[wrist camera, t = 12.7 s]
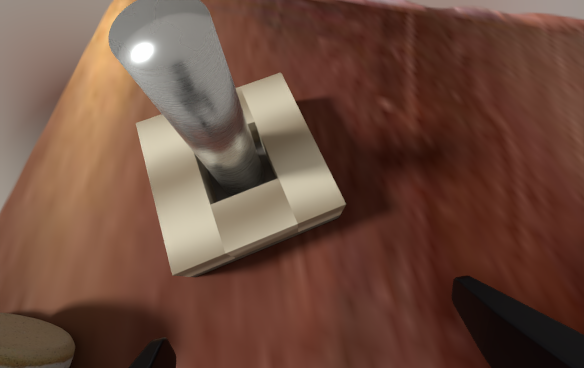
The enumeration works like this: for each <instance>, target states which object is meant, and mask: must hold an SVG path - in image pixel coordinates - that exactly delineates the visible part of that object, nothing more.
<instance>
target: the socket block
mask: <svg viewBox="0 0 584 368" xmlns="http://www.w3.org/2000/svg"><path fill="white" fill-rule="evenodd" d="M235 89H236V92H237V94H238V97H239V100H240V103H241V106H242V109H243V112H244V115H245V118H246V121H247V124H248V127H249V130H250V132H251V135H252V138H253V141H254V144H255V147H256V150H257V153H258V156H259V159H260V162H261V165H262V167H263V170H264V181H263V183H262V185H260V186H257V187H254V188H252V189H249V190H247V191H244V192H242V193H239V194H237V195H234V196H232V195H230V194H228V193H227V192H226V191H225V190H224V189H223V188H222V186H221V185H220V184H219V183H218V182H217V180H216V179H215V178H214V177H213V175H212V174H211V173H210V172H209V170H208V169H207V168H206V167H205V166H204V164H203V163H202V162H201V161H200V159H199V158H198V157H197V156H196V155H195V153H194V152H193V151H192V150H191V148H190V147H189V146H188V145H187V144H186V142H185V141H184V140H183V139H182V137H181V136H180V135H179V134H178V133H177V131H176V130H175V129H174V128H173V126H172V125H171V124H170V123H169V122H168V120H167V119H166V118H165V117H164V115H163V114H161V115H158V116H155V117H153V118H150V119H147V120H144V121H141V122H138V123H136V126H137V130H138V134H139V139H140V143H141V147H142V151H143V155H144V159H145V164H146V168H147V172H148V176H149V180H150V184H151V188H152V193H153V197H154V201H155V205H156V209H157V213H158V218H159V222H160V226H161V230H162V234H163V238H164V242H165V247H166V251H167V255H168V259H169V263H170V267H171V272H172V275H175V276H187V277H197V276H200V275H202V274H204V273H207V272H209V271H212V270H214V269H216V268H219V267H221V266H224V265H226V264H229V263H231V262H233V261H236V260H238V259H241V258H243V257H245V256H248V255H250V254H253V253H255V252H257V251H260V250H262V249H265V248H267V247H270V246H272V245H274V244H277V243H279V242H282V241H284V240H286V239H289V238H291V237H294V236H296V235H299V234H301V233H303V232H306V231H308V230H311V229H313V228H315V227H318V226H320V225H323V224H325V223H327V222H330V221H332V220H335V219H337V218H339V216H340V215H341V213H342V211H343V209H344V207H345V205H346V203H345V201H344V199H343V197H342V195H341V193H340V191H339V189H338V187H337V185H336V183H335V181H334V179H333V177H332V175H331V173H330V171H329V169H328V167H327V165H326V163H325V161H324V159H323V157H322V154H321V152H320V150H319V148H318V146H317V144H316V142H315V140H314V138H313V136H312V134H311V132H310V130H309V128H308V126H307V124H306V122H305V120H304V118H303V116H302V114H301V112H300V110H299V108H298V106H297V104H296V102H295V100H294V98H293V96H292V94H291V92H290V90H289V88H288V86H287V84H286V82H285V80H284V78H283V76H282V74H281V73H278V74H275V75H272V76H270V77H267V78H264V79H261V80H258V81H255V82H252V83H250V84H247V85H244V86H241V87H238V88H235Z"/></svg>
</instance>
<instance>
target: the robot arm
mask: <svg viewBox="0 0 584 368" xmlns="http://www.w3.org/2000/svg"><path fill="white" fill-rule="evenodd" d="M452 301H453V304H454V306H455V307H456V309H457V311H458V313H459V315H460V316H461V318H462V320H463V322H464V323H465V325H466V327H467V329H468V330H469V332H470V334H471V336H472V337H473V339H474V341H475V343H476V344H477V346H478V348H479V350H480V351H481V353H482V354H483V356H484V357H485V359H486V360H487V362H488V363H489V365H490V366H491V368H584V335H583V334H581V333H579V332H577V331H575V330H573V329H571V328H570V327H568V326H566V325H564V324H562V323H560V322H558V321H556V320H554V319H552V318H550V317H548V316H546V315H544V314H542V313H540V312H538V311H536V310H535V309H533V308H531V307H529V306H527V305H525V304H523V303H521V302H519V301H517V300H515V299H513V298H511V297H509V296H507V295H505V294H503V293H502V292H500V291H498V290H496V289H494V288H492V287H490V286H488V285H486V284H484V283H482V282H480V281H478V280H476V279H474V278H472V277H470V276H461V277H456V278H455V279H454V281H453V288H452ZM129 368H176V354H175V352H174V350H173V348H172V346H171V344H170V342H169V341H168V339H167V338H159V339H154V340H152V341H151V342H150V343H149V344H148V345H147V346H146V347H145V348H144V350H143V351H142V352H141V353H140V354H139V356H138V357H137V358H136V359H135V360H134V362H133V363H132V364H131V365H130V366H129Z"/></svg>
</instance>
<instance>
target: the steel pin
mask: <svg viewBox="0 0 584 368" xmlns="http://www.w3.org/2000/svg"><path fill="white" fill-rule="evenodd" d="M109 46H110V48H111V51H112V52H113V54H114V55H115V57H116V58H117V59H118V60H119V62H120V63H121V64H122V65H123V66H124V68H125V69H126V70H127V71H128V73H129V74H130V75H131V76H132V77H133V79H134V80H135V81H136V82H137V84H138V85H139V86H140V87H141V88H142V90H143V91H144V92H145V93H146V95H147V96H148V97H149V98H150V100H151V101H152V102H153V103H154V104H155V106H156V107H157V108H158V109H159V111H160V112H161V113H162V114H163V115H164V117H165V118H166V119H167V120H168V122H169V123H170V124H171V125H172V126H173V128H174V129H175V130H176V131H177V133H178V134H179V135H180V136H181V137H182V139H183V140H184V141H185V142H186V144H187V145H188V146H189V147H190V148H191V150H192V151H193V152H194V153H195V155H196V156H197V157H198V158H199V159H200V161H201V162H202V163H203V164H204V166H205V167H206V168H207V169H208V170H209V172H210V173H211V174H212V175H213V177H214V178H215V179H216V180H217V182H218V183H219V184H220V185H221V186H222V188H223V189H224V190H225V191H226V192H227V193H228V194H230V195H232V196H234V195H237V194H239V193H242V192H244V191H247V190H249V189H252V188H254V187H257V186H260V185H262V183H263V181H264V170H263V167H262V165H261V162H260V159H259V156H258V153H257V150H256V147H255V144H254V141H253V138H252V135H251V132H250V130H249V127H248V124H247V121H246V118H245V115H244V112H243V109H242V106H241V103H240V100H239V97H238V94H237V92H236V89H235V86H234V83H233V80H232V77H231V74H230V71H229V68H228V65H227V62H226V59H225V57H224V54H223V51H222V48H221V45H220V42H219V39H218V36H217V33H216V30H215V27H214V24H213V22H212V19H211V16H210V13H209V11H208V9H207V7H206V6H205V5H204V4H203V3H202V2H201V1H200V0H137V1H135V2H134V3H132V4H130V5H129V6H128V7H126V8H125V9H124V10H123V11H122V12H121V13H120V14H119V15H118V16H117V18H116V19H115V20H114V22H113V24H112V26H111V29H110V32H109Z"/></svg>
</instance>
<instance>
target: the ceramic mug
mask: <svg viewBox="0 0 584 368" xmlns="http://www.w3.org/2000/svg"><path fill="white" fill-rule="evenodd" d="M74 351H75V344H74V341H73V339H72V337H71V336H70V334H69V333H67V332H66V331H65V330H63V329H62V328H60V327H57V326H55V325H53V324H51V323H48V322H45V321H43V320H40V319H36V318H31V317H26V316H22V315H16V314H8V313H0V368H69V367H70V364H71V362H72V359H73V356H74Z"/></svg>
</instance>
